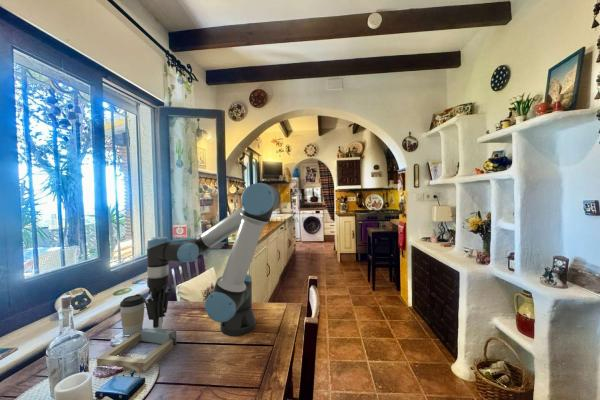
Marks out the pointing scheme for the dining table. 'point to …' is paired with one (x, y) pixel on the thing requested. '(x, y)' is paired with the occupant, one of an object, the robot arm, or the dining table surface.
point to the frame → (133, 363)
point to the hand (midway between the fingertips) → (157, 333)
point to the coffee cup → (132, 314)
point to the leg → (155, 335)
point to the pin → (174, 337)
